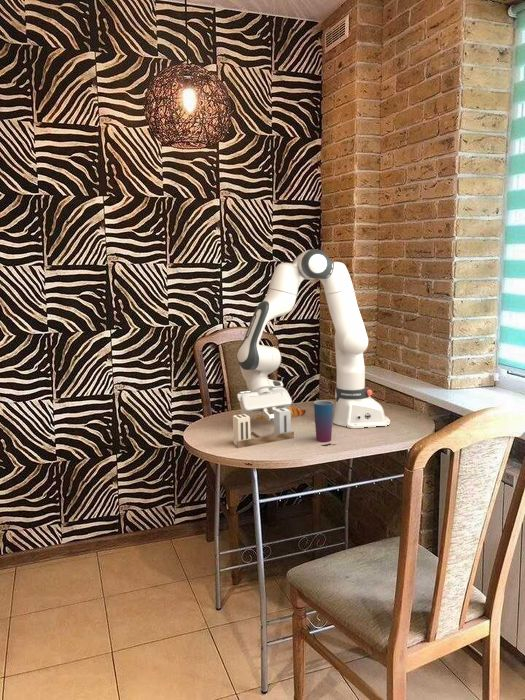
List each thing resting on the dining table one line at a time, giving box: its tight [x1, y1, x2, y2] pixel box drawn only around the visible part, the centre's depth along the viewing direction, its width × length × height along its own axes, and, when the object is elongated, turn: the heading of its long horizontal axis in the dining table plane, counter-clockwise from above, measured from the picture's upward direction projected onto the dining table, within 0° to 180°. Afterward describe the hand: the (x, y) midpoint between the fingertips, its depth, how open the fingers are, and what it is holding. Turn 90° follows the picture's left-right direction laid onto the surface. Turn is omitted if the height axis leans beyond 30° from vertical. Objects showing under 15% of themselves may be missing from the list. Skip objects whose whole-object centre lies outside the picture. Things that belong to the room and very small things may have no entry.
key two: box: [232, 413, 252, 446], centre depth 193 cm, size 4×5×10 cm
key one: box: [273, 408, 292, 435], centre depth 200 cm, size 4×5×10 cm
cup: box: [313, 399, 334, 447], centre depth 196 cm, size 7×7×15 cm
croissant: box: [256, 405, 307, 420], centre depth 228 cm, size 21×10×8 cm, turn 110°
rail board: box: [236, 431, 295, 449], centre depth 200 cm, size 22×12×4 cm, turn 117°
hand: (272, 419), depth 207 cm, fingers closed
